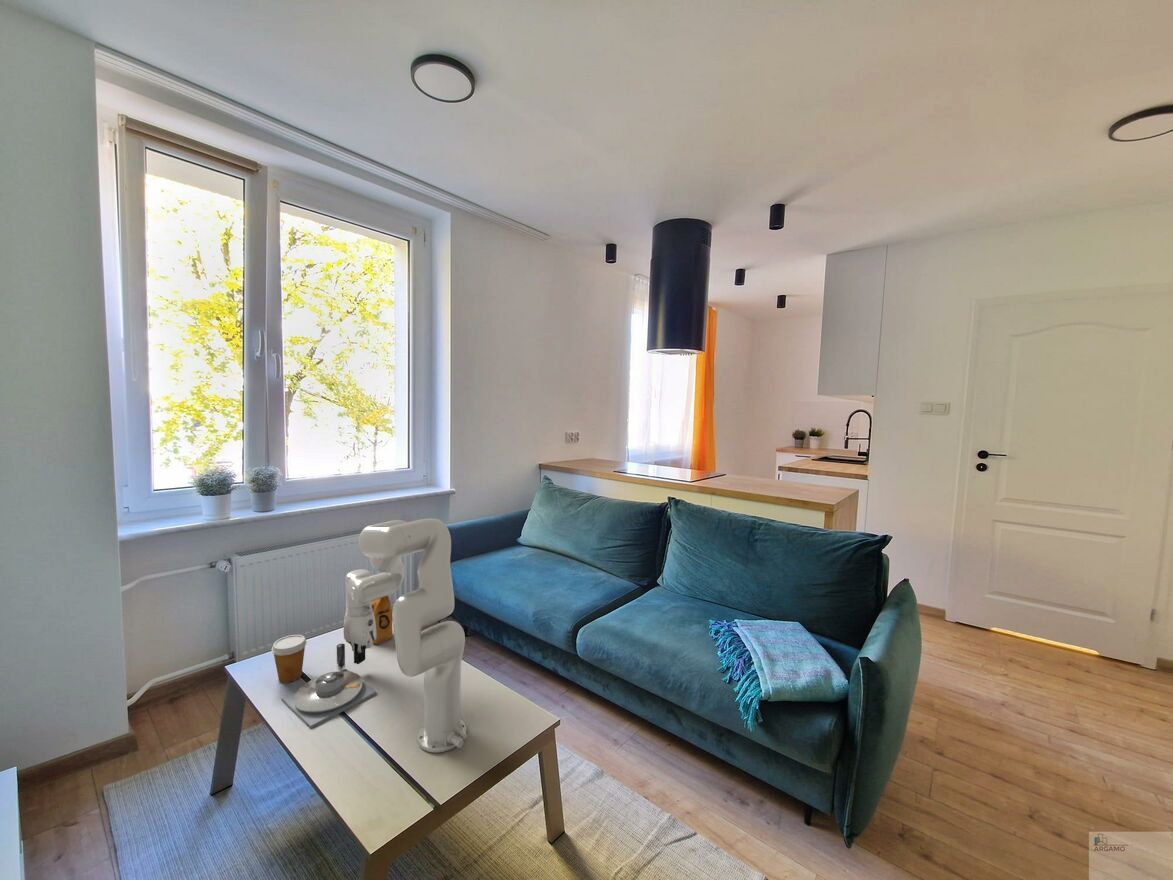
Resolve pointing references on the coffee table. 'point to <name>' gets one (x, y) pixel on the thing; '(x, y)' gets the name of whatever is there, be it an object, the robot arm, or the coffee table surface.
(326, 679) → the cover
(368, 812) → the coffee table surface
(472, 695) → the coffee table surface
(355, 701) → the plinth
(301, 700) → the turntable
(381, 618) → the coffee package
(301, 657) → the disposable coffee cup
